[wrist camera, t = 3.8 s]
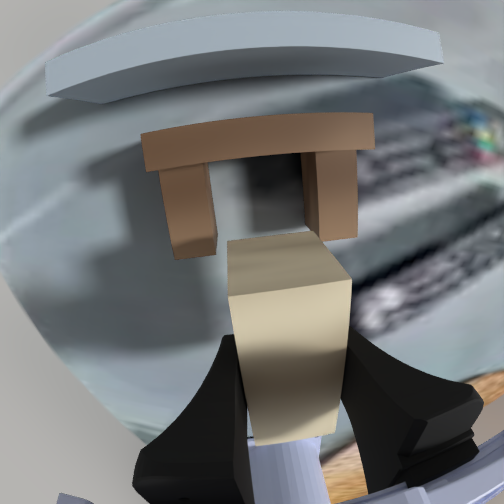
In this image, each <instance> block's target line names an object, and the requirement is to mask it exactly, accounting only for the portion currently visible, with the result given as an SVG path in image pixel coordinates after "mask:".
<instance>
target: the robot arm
mask: <svg viewBox="0 0 504 504" xmlns="http://www.w3.org/2000/svg"><path fill="white" fill-rule="evenodd" d="M340 398H341V400H342V403H343V405H344V407H345V409H346V412H347V414H348V416H349V419H350V422H351V425H352V428H353V431H354V435H355V438H356V442H357V445H358V449H359V453H360V457H361V461H362V465H363V470H364V474H365V479H366V484H367V489H368V495H365V496H362V497H359V498H355V499H352V500H348V501H344V502H340V503H336V504H485V503H486V502H488V501H489V500H491V499H492V498H493V497H495V496H496V495H498V494H499V493H500V492H502V491H503V490H504V430H503V431H502V432H500V433H499V434H497V435H495V436H494V437H492V438H491V439H489V440H488V441H486V442H484V443H483V444H481V445H479V446H478V447H477V446H476V444H475V443H474V441H473V439H472V437H473V436H474V432H473V431H472V429H471V427H472V425H473V424H474V422H475V421H476V419H477V418H478V416H479V414H480V413H481V411H482V409H483V404H484V402H483V399H482V398H481V397H480V395H479V394H478V393H477V391H476V390H475V389H474V387H473V386H472V385H470V384H464V383H459V382H454V381H450V380H446V379H443V378H439V377H436V376H433V375H430V374H427V373H425V372H422V371H420V370H418V369H415V368H413V367H411V366H409V365H407V364H405V363H403V362H401V361H399V360H397V359H395V358H394V357H392V356H390V355H389V354H387V353H386V352H384V351H382V350H381V349H379V348H378V347H377V346H375V345H374V344H372V343H371V342H370V341H368V340H367V339H366V338H364V337H363V336H362V335H360V334H359V333H358V332H357V331H355V330H354V329H353V328H352V327H351V326H349V329H348V340H347V350H346V359H345V367H344V375H343V383H342V390H341V397H340ZM320 443H321V436H317V437H312V438H307V439H302V440H296V441H290V442H284V443H277V444H270V445H262V446H255V441H254V438H250V439H247V401H246V396H245V391H244V385H243V380H242V375H241V369H240V364H239V358H238V353H237V347H236V341H235V336H234V334H232V335H224V336H223V337H222V341H221V344H220V347H219V350H218V353H217V355H216V358H215V360H214V362H213V364H212V366H211V368H210V370H209V372H208V374H207V376H206V378H205V380H204V381H203V383H202V385H201V387H200V388H199V390H198V391H197V393H196V394H195V396H194V397H193V399H192V400H191V402H190V403H189V404H188V405H187V407H186V408H185V409H184V410H183V412H182V413H181V414H180V415H179V416H178V417H177V419H176V420H175V421H174V422H173V423H172V424H171V425H170V426H169V427H168V428H167V429H166V430H165V431H164V432H163V433H161V434H160V435H159V436H158V437H157V438H155V439H154V440H153V441H152V442H150V443H149V444H148V445H147V446H145V447H144V448H143V449H141V451H140V453H139V456H138V459H137V462H136V465H135V470H134V475H133V482H132V484H133V485H132V486H133V487H134V489H135V490H136V491H137V492H138V493H139V494H140V495H141V496H142V497H143V498H144V499H145V500H146V501H147V502H149V503H150V504H331V503H330V499H329V496H328V492H327V488H326V484H325V480H324V476H323V473H322V469H321V465H320V461H319V451H320ZM57 504H94V503H92V502H90V501H88V500H85V499H83V498H79V497H75V496H71V495H67V494H63V493H59V496H58V500H57Z"/></svg>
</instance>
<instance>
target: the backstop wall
mask: <svg viewBox="0 0 504 504" xmlns="http://www.w3.org/2000/svg"><path fill="white" fill-rule="evenodd" d="M443 63H444V59H443V53H442V47H441V41H440V36H439V33H438V32H435V31H431V30H428V29H424V28H420V27H416V26H412V25H407V24H403V23H398V22H393V21H388V20H382V19H376V18H370V17H363V16H356V15H347V14H338V13H326V12H308V11H259V12H242V13H230V14H220V15H211V16H204V17H197V18H190V19H184V20H179V21H173V22H168V23H163V24H159V25H154V26H150V27H146V28H142V29H138V30H134V31H130V32H127V33H123V34H120V35H116V36H113V37H110V38H107V39H103V40H100V41H97V42H95V43H92V44H89V45H86V46H83V47H81V48H78V49H75V50H73V51H70V52H68V53H65V54H63V55H61V56H58V57H56V58H54V59H51V60H49V61H47V62H45V74H46V96H51V97H59V98H66V99H73V100H80V101H86V102H93V103H98V104H105V103H109V102H112V101H116V100H120V99H123V98H127V97H131V96H136V95H140V94H144V93H148V92H153V91H158V90H163V89H168V88H173V87H178V86H184V85H190V84H196V83H203V82H210V81H218V80H226V79H235V78H246V77H258V76H275V75H351V76H367V77H379V78H384V77H387V76H391V75H395V74H399V73H403V72H407V71H411V70H415V69H420V68H424V67H429V66H433V65H438V64H443Z"/></svg>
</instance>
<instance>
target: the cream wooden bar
mask: <svg viewBox="0 0 504 504" xmlns="http://www.w3.org/2000/svg"><path fill="white" fill-rule="evenodd" d="M227 263H228V300H229V306H230V312H231V318H232V324H233V330H234V336H235V341H236V347H237V353H238V358H239V364H240V369H241V375H242V380H243V385H244V391H245V396H246V401H247V406H248V411H249V416H250V421H251V426H252V431H253V436H254V441H255V446H262V445H270V444H277V443H284V442H290V441H296V440H302V439H307V438H312V437H317V436H322V435H327V434H331V433H335V428H336V423H337V417H338V410H339V404H340V397H341V390H342V383H343V375H344V367H345V359H346V350H347V340H348V329H349V317H350V303H351V287H352V279H351V277H350V276H349V275H348V274H347V272H346V271H345V270H344V268H343V267H342V266H341V265H340V263H339V262H338V261H337V260H336V258H335V257H334V256H333V255H332V253H331V252H330V251H329V250H328V248H327V247H326V246H325V245H324V244H323V242H322V241H321V240H320V239H319V237H318V236H317V235H316V234H315V233H314V231H306V232H297V233H289V234H281V235H272V236H264V237H256V238H248V239H240V240H232V241H227Z"/></svg>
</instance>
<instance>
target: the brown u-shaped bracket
mask: <svg viewBox="0 0 504 504" xmlns="http://www.w3.org/2000/svg"><path fill="white" fill-rule="evenodd" d="M141 141H142V149H143V155H144V162H145V168H146V172H150V171H156V170H158V172H159V178H160V184H161V190H162V196H163V202H164V207H165V213H166V218H167V224H168V229H169V234H170V239H171V244H172V249H173V253H174V258H175V260H179V259H187V258H195V257H203V256H211V255H216V248H217V237H218V233H217V226H216V219H215V212H214V205H213V198H212V191H211V184H210V176H209V169H208V162H212V161H220V160H228V159H236V158H245V157H254V156H264V155H274V154H286V153H299V152H301V165H302V179H303V195H304V212H305V224H306V226H307V227H308V228H309V229H310V230H311V231H314V233H315V234H316V235H317V236H318V237H319V239H320V240H321V241H322V242H323V241H331V240H339V239H347V238H355V237H357V234H358V189H357V158H356V150H363V149H375V139H374V123H373V113H300V114H282V115H268V116H256V117H245V118H236V119H227V120H219V121H212V122H205V123H198V124H191V125H185V126H179V127H174V128H168V129H163V130H158V131H153V132H148V133H143V134H141Z"/></svg>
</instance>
